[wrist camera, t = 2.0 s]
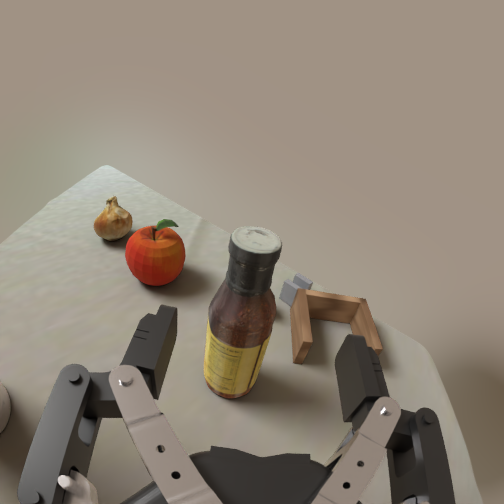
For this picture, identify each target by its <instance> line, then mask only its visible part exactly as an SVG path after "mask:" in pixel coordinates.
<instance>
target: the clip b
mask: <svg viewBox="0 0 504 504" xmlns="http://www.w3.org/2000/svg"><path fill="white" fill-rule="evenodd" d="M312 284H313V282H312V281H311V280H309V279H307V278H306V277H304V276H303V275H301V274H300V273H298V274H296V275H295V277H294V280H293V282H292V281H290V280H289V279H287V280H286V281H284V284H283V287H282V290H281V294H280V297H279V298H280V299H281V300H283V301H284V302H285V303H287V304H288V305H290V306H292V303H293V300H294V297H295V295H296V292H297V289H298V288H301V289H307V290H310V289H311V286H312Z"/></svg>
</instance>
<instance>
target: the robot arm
mask: <svg viewBox="0 0 504 504" xmlns="http://www.w3.org/2000/svg"><path fill="white" fill-rule="evenodd" d="M176 336H177V308H175V307H171V306H166V305H161V306H160V307H159V310H158V312H157V314H156V315H153V314H149V313H148V314H147V315H146V316H145V317H143V318H142V319H141V320H140V322H139V324H138V327H137V329H136V331H135V333H134V335H133V338H132V340H131V342H130V344H129V347H128V349H127V351H126V354H125V356H124V358H123V361H122V363H121V364H120V365H119V366H117V367H116V368H114V369H113V370H112V371H110V372H105V373H90V372H88V370H87V369H86V368H85V367H84V366H82V365H79V364H70V365H68V366H66V367H64V368H63V369H62V370H61V372H60V374H59V376H58V378H57V380H56V383H55V385H54V387H53V390H52V392H51V394H50V397H49V399H48V401H47V404H46V406H45V409H44V411H43V414H42V416H41V419H40V422H39V424H38V427H37V430H36V432H35V435H34V438H33V441H32V444H31V447H30V450H29V453H28V456H27V459H26V462H25V465H24V468H23V472H22V475H21V479H20V482H19V486H18V490H17V495H18V499H19V502H20V503H21V504H98V493H97V490H96V488H95V486H94V485H93V484H92V483H91V482H90V481H89V480H87V479H86V477H87V472H88V468H89V464H90V460H91V456H92V452H93V449H94V445H95V441H96V437H97V434H98V430H99V427H100V423H101V420H102V418H123V420H124V422H125V425H126V427H127V429H128V431H129V434H130V436H131V438H132V440H133V442H134V444H135V446H136V448H137V450H138V453H139V455H140V457H141V459H142V461H143V463H144V464H145V466H146V468H147V470H148V472H149V474H150V476H151V478H152V479H153V482H151V483H150V484H148V485H147V486H146V487H144V488H143V489H141V490H140V491H139V492H137V493H136V494H134V495H133V496H131V497H130V498H128V499H127V500H125V501H124V502H122V503H121V504H362V503H361V502H360V501H359V499H360V497H361V496H362V494H363V492H364V491H365V489H366V488H367V486H368V484H369V483H370V481H371V479H372V478H373V476H374V474H375V472H376V471H377V469H378V467H379V465H380V463H381V462H382V460H383V458H384V456H385V454H386V452H387V458H388V467H389V476H390V487H391V499H392V504H455V498H454V492H453V485H452V479H451V474H450V469H449V463H448V459H447V454H446V449H445V445H444V440H443V436H442V432H441V428H440V424H439V420H438V417H437V415H436V414H435V412H434V411H432V410H431V409H429V408H421V409H419V410H418V411H417V412H416V413H414V412H410V411H407V410H403V409H400V406H399V404H398V403H397V402H396V401H395V400H394V399H392V398H390V397H389V393H388V389H387V386H386V382H385V379H384V375H383V372H382V368H381V365H380V362H379V358H378V355H377V354H376V352H375V351H374V350H373V348H372V347H367V343H366V340H365V337H364V336H362V335H352V334H349V335H347V337H346V338H345V340H344V342H343V344H342V346H341V348H340V349H339V351H338V353H337V355H336V359H335V369H336V375H337V381H338V387H339V393H340V400H341V406H342V413H343V420H344V422H352V426H353V427H352V428H351V429H350V430H349V432H348V433H347V435H346V436H345V438H344V439H343V441H342V442H341V444H340V445H339V447H338V448H337V449H336V451H335V452H334V454H333V455H332V456H331V457H330V459H329V460H328V461H327V462H326V463H325V464H324V465H322V464H320V463H318V462H316V461H313V460H310V454H290V453H286V454H281V455H275V456H269V457H258V456H255V455H252V454H249V453H246V452H243V451H240V450H237V449H230V448H223V447H216V446H211V450H210V451H204V452H199V453H195V454H192V455H190V456H188V454H187V453H186V451H185V450H184V448H183V446H182V445H181V443H180V441H179V440H178V438H177V436H176V434H175V433H174V431H173V429H172V427H171V426H170V424H169V422H168V420H167V418H166V417H165V415H164V414H163V413H161V412H160V410H159V408H158V407H157V405H156V403H155V401H154V399H157V400H158V398H159V395H160V392H161V388H162V385H163V381H164V378H165V374H166V371H167V368H168V364H169V361H170V358H171V355H172V351H173V348H174V345H175V341H176ZM10 410H11V406H10V398H9V395H8V393H7V390H6V389H5V387H4V386H3V384H2V383H1V381H0V433H1V432H2V431H3V430H4V428H5V426H6V425H7V422H8V420H9V417H10Z"/></svg>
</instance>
